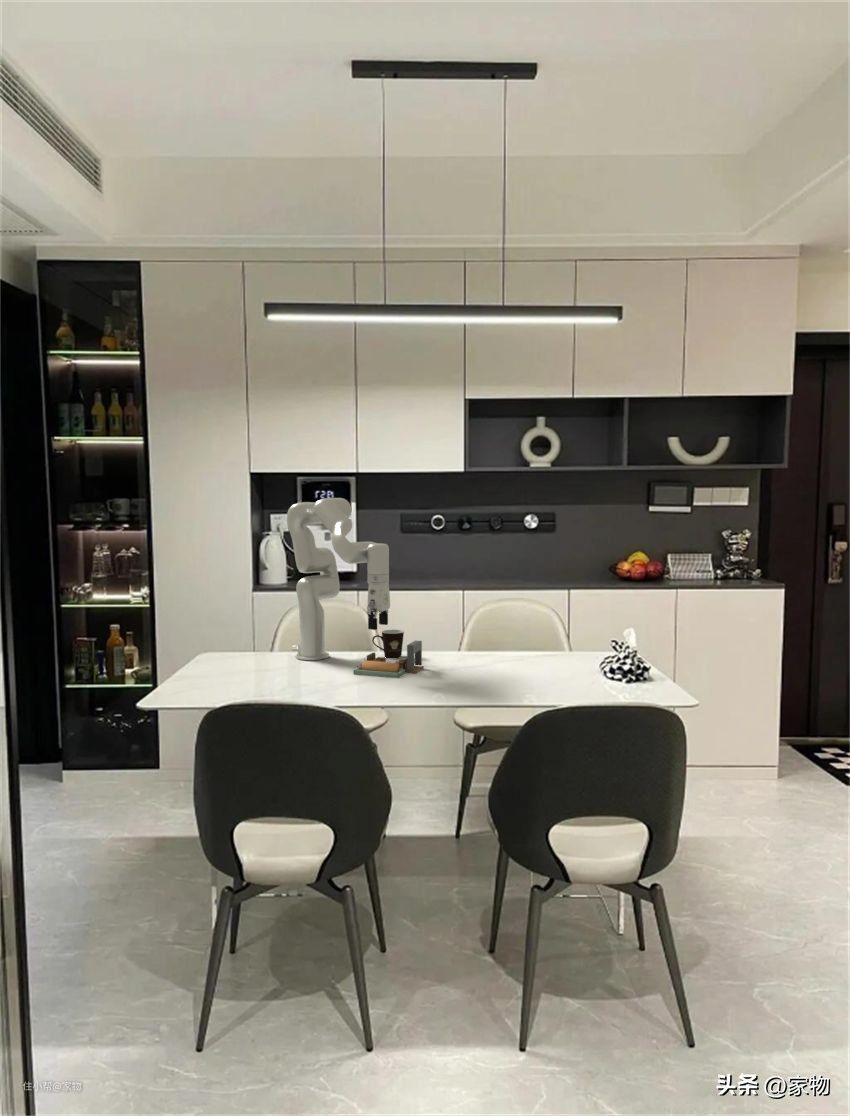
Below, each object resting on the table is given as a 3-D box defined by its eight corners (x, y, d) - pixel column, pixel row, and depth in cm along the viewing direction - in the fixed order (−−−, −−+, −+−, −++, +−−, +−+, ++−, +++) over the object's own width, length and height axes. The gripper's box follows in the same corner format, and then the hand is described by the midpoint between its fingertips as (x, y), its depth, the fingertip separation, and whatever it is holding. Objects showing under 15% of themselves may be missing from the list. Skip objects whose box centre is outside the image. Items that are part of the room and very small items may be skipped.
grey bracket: (407, 669, 277) (407, 645, 276) (415, 664, 285) (415, 640, 284) (413, 670, 276) (413, 645, 275) (421, 665, 284) (421, 640, 283)
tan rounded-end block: (360, 667, 277) (363, 658, 279) (364, 672, 280) (366, 662, 281) (395, 670, 273) (397, 661, 274) (398, 674, 275) (400, 665, 277)
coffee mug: (406, 655, 307) (406, 630, 306) (400, 659, 299) (400, 634, 298) (378, 653, 310) (378, 628, 309) (371, 658, 302) (371, 632, 301)
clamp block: (357, 669, 284) (356, 655, 283) (365, 664, 291) (364, 651, 290) (416, 673, 276) (416, 659, 276) (423, 669, 283) (423, 655, 283)
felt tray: (353, 674, 276) (353, 669, 276) (360, 670, 282) (360, 665, 282) (398, 677, 270) (398, 673, 270) (405, 673, 277) (405, 669, 276)
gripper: (378, 582, 265) (378, 632, 266) (397, 576, 281) (397, 623, 283) (358, 581, 267) (358, 630, 269) (377, 575, 283) (377, 622, 285)
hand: (378, 626), depth 276 cm, fingers open, 9 cm apart
